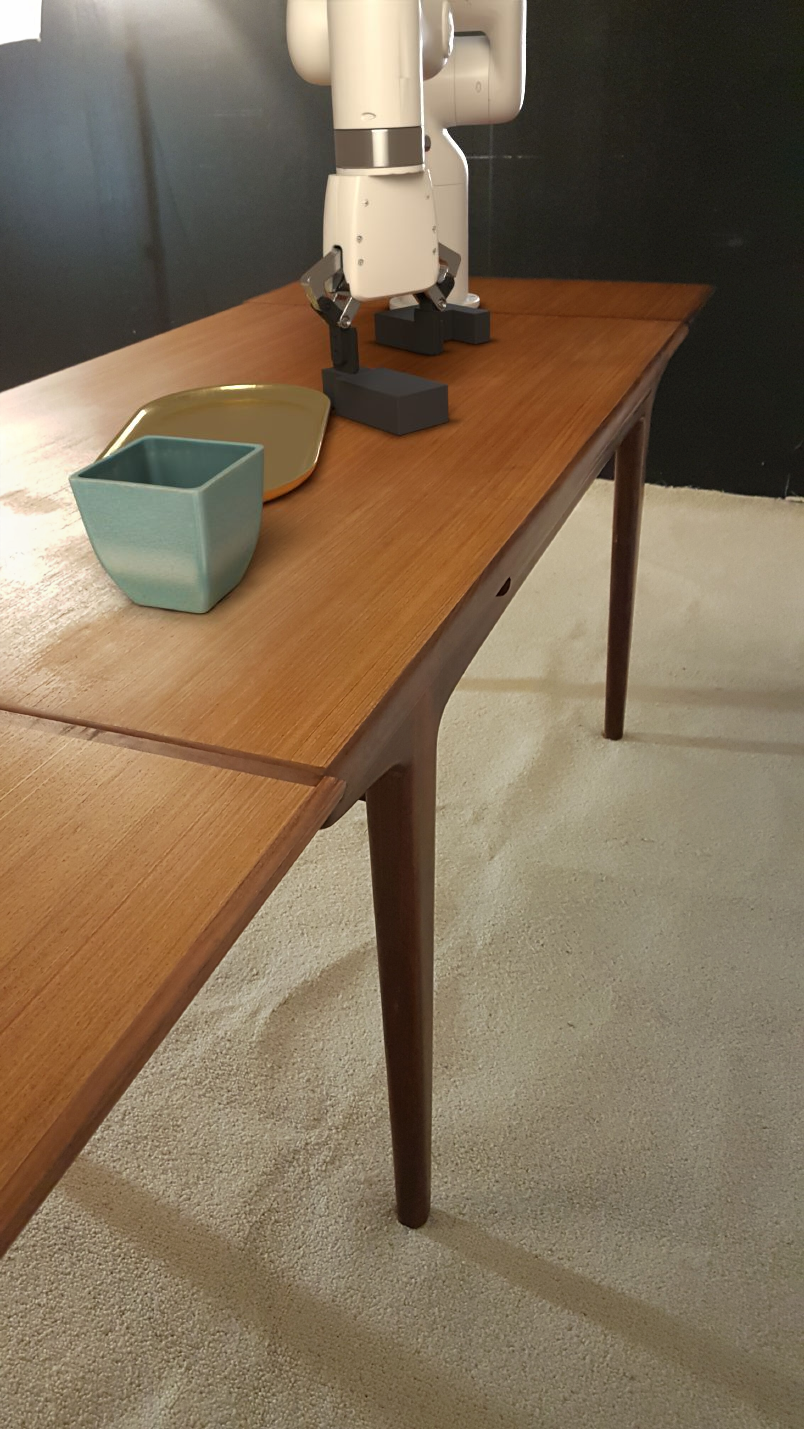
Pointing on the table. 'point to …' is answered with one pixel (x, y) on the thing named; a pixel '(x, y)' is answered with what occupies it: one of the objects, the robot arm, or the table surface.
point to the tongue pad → (387, 399)
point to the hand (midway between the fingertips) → (388, 362)
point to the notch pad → (455, 325)
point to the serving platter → (242, 425)
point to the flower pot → (174, 517)
